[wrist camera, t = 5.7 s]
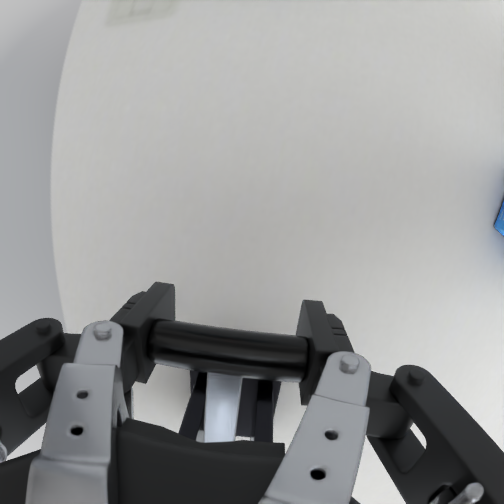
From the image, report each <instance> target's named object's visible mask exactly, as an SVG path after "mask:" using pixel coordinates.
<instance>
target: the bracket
mask: <svg viewBox="0 0 504 504" xmlns="http://www.w3.org/2000/svg"><path fill="white" fill-rule="evenodd" d="M207 374H208V373H205V372H199V371H193V370H190V383H191V396H190V400H189V403H188V406H187V409H186V412H185V415H184V418H183V421H182V424H181V427H180V430H179V433H178V434H180V435H183V436H185V437H187V438H190V439H192V440H195V441H198V442H203V438H204V419H205V403H206V388H207ZM280 386H281V381H271V380H261V379H251V378H242V386H241V394H240V403H239V411H238V420H237V428H236V436H243V437H250V441H258V442H272V443H273V417H274V413H275V408H276V404H277V399H278V395H279V390H280Z"/></svg>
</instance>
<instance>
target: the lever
mask: <svg viewBox="0 0 504 504" xmlns="http://www.w3.org/2000/svg"><path fill="white" fill-rule="evenodd" d="M147 350H148V357H149V360H150V361H151V362H152V363H156V364H161V365H166V366H171V367H176V368H182V369H187V370H193V371H199V372H205V373H208V374H207V388H206V403H205V419H204V438H203V442H205V443H206V442H227V441H235V437H236V428H237V420H238V411H239V403H240V394H241V386H242V378H251V379H261V380H271V381H284V382H299V383H300V382H303V381H304V379H305V376H306V373H307V369H308V363H309V341H308V338H307V337H305V336H296V335H285V334H274V333H264V332H255V331H246V330H237V329H229V328H222V327H214V326H207V325H200V324H193V323H187V322H181V321H174V320H168V319H162V318H157V319H156V320H155V321H154V322H153V324H152V326H151V329H150V332H149V336H148V344H147Z"/></svg>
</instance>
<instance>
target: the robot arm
mask: <svg viewBox="0 0 504 504" xmlns="http://www.w3.org/2000/svg"><path fill="white" fill-rule="evenodd" d="M157 318H162V319H168V320H174V321H175V287H174V285H173V284H168V283H161V282H155V283H154V284H153V285H152V286H151V287H150V288H149V289H148V291H147V292H143V291H142V292H140V293H138V294H136V295H133V296H132V297H131V298H130V299H129V300H128V301H127V303H125V304H124V305H123V307H122V308H121V309H120V310H119V311H118V312H117V313H116V314H115V315H114V316H113V317H112V318H111V319H110V320H109V321H97V322H94V323H91V324H89V325H87V326H86V327H85V328H84V329H83V332H82V334H68V333H63V328H62V324H61V323H60V322H59V321H58V320H56V319H53V318H43V319H38V320H35V321H33V322H31V323H30V324H28V325H26V326H24V327H23V328H21V329H19V330H17V331H15V332H14V333H12V334H10V335H8V336H7V337H5V338H3V339H2V340H0V504H360V503H359V502H358V501H356V500H355V499H354V498H353V497H352V496H351V495H352V492H353V488H354V484H355V480H356V476H357V472H358V468H359V464H360V459H361V455H362V450H363V445H364V440H365V435H367V438H368V440H369V442H370V443H371V445H372V447H373V448H374V450H375V452H376V453H377V455H378V457H379V459H380V460H381V462H382V464H383V465H384V467H385V469H386V470H387V472H388V474H389V475H390V477H391V479H392V480H393V482H394V484H395V485H396V487H397V489H398V491H399V492H400V494H401V496H402V497H403V499H404V501H405V502H406V504H504V452H503V451H502V450H501V449H500V448H499V447H498V446H497V444H496V443H495V442H494V441H493V440H492V439H491V438H490V436H489V435H488V434H487V433H486V432H485V431H484V430H483V429H482V428H481V427H480V425H479V424H478V423H477V422H476V421H475V420H474V419H473V418H472V417H471V416H470V415H469V413H468V412H467V411H466V410H465V409H464V408H463V407H462V406H461V405H460V404H459V403H458V402H457V401H456V400H455V398H454V397H453V396H452V395H451V394H450V393H449V392H448V391H447V390H446V389H445V388H444V387H443V386H442V385H441V384H440V383H439V382H438V381H437V380H436V379H435V378H434V377H433V376H432V375H431V374H430V373H429V372H428V371H427V370H425V369H423V368H421V367H419V366H415V365H404V366H401V367H399V368H398V369H397V370H396V373H395V375H394V376H390V375H385V374H380V373H376V372H373V371H371V365H370V363H369V362H368V361H367V360H366V359H365V358H364V357H362V356H361V355H359V354H356V353H354V350H353V348H352V345H351V343H350V341H349V338H348V336H347V333H346V331H345V330H344V326H343V324H342V321H341V320H340V319H339V318H337V317H336V316H335V315H334V314H326V311H325V308H324V305H323V303H322V301H313V300H303V302H302V305H301V311H300V316H299V321H298V326H297V331H296V336H305V337H307V338H308V341H309V363H308V369H307V373H306V376H305V379H304V381H303V382H300V383H299V388H300V397H301V405H307V408H306V411H305V413H304V415H303V418H302V420H301V422H300V424H299V427H298V429H297V431H296V433H295V435H294V437H293V440H292V442H291V444H290V446H289V448H288V450H287V452H286V454H285V443H272V442H258V441H247V440H240V441H227V442H206V443H205V442H198V441H195V440H192V439H190V438H187V437H185V436H183V435H180V434H178V433H176V432H173V431H171V430H169V429H166V428H164V427H162V426H157V425H153V424H149V423H145V422H141V421H138V420H134V409H133V389H132V386H133V384H134V382H135V381H137V382H141V383H145V384H146V383H147V381H148V379H149V377H150V375H151V373H152V371H153V369H154V367H155V365H156V363H152V362H151V361H150V360H149V357H148V350H147V344H148V336H149V332H150V329H151V326H152V324H153V322H154V321H155V320H156V319H157ZM35 365H37V368H38V370H39V373H40V376H41V378H39V379H38V380H37V381H35V382H34V383H33V384H31V385H30V386H29V387H27V388H26V389H25V390H23V391H22V392H20V393H19V394H17V392H16V389H15V382H16V380H17V378H18V377H19V376H20V375H22V374H23V373H25V372H26V371H28V370H29V369H30V368H32V367H33V366H35ZM46 422H47V423H46ZM45 423H46V427H45V432H44V437H43V442H42V447H41V449H40V450H37V451H34V452H31V453H28V454H26V455H23V456H20V457H17V458H14V459H10V460H8V461H6V458H7V456H8V455H9V454H10V453H11V452H13V451H14V450H15V449H16V448H17V447H18V446H20V445H21V444H22V443H23V442H24V441H25V440H26V439H28V438H29V437H30V436H31V435H32V434H33V433H34V432H36V431H37V430H38V429H39V428H40V427H41V426H42V425H44V424H45ZM413 423H415V424H416V426H417V427H418V428H419V430H420V431H421V432H422V434H423V435H424V436H425V439H426V443H427V445H426V450H425V448H424V447H423V446H422V444H421V443H420V441H419V440H418V439H417V437H416V436H415V435H414V433H413V432H412V430H411V429H410V427H411V426H412V424H413Z"/></svg>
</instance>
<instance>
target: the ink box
mask: <svg viewBox="0 0 504 504" xmlns="http://www.w3.org/2000/svg"><path fill="white" fill-rule="evenodd" d="M494 227H495V228H496V229H497V230H498V231H499V232H500V233H501V234H502V235H503V236H504V201H503V204H502V207H501V210H500V213H499V215H498V218H497V220H496V222H495V225H494Z"/></svg>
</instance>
